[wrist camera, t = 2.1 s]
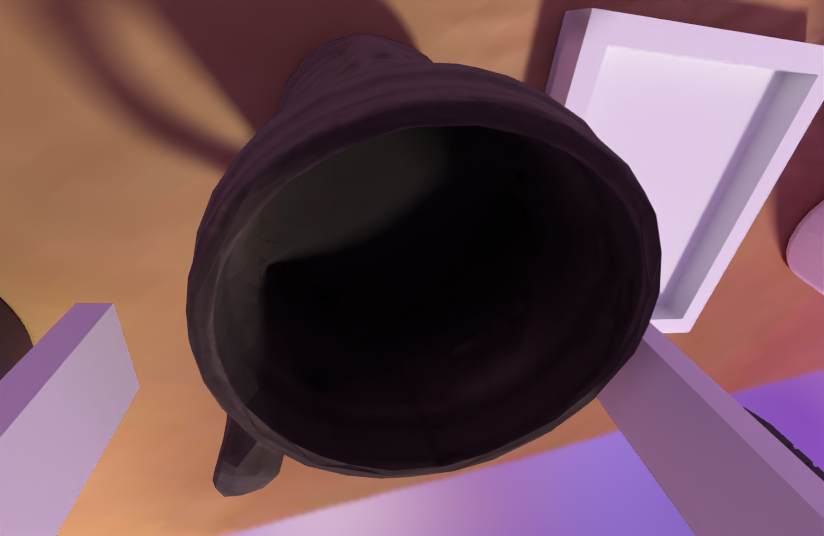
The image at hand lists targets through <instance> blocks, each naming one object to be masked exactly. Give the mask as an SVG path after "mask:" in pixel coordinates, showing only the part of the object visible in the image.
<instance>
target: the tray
mask: <svg viewBox="0 0 824 536" xmlns="http://www.w3.org/2000/svg"><path fill="white" fill-rule="evenodd" d="M545 93H546V94H548V95H549V96H550V97H552V98H553V99H555V100H556V101H557V102H559V103H560V104H562V105H563V106H565V107H566V108H567V109H569V110H570V111H572V112H573V113H575V114H576V115H577V116H579V117H580V118H582V119H583V120H584V121H585V122H586V123H587V124H588V125H589V127H590V128H591V129H592V130H593V132H594V133H595V134H596V136H597V137H598V138H599V139H600V140H601V141H602V142H603V143H604V144H606V145H607V146H608V147H609V148H610V149H611V150H612V151H613V152H615V153H616V154H617V155H618V156H619V157H620V158H621V159H622V160H624V161H625V162H626V163H627V164H628V165H629V167H630V168H631V170H632V172H633V173H634V175H635V176H636V178H637V180H638V181H639V183H640V185H641V186H642V188H643V189H644V191H645V193H646V195H647V197H648V199H649V201H650V203H651V205H652V207H653V209H654V211H655V213H656V216H657V222H658V229H659V236H660V243H661V250H662V258H661V279H660V294H659V296H658V299H657V302H656V305H655V308H654V311H653V314H652V317H651V320H650V323H651V324H653V325H654V326H655V327H656V328H657V329H658V330H659V331H660V332H661V333H682V332H689V331H690V330H691V328H692V326H693V325H694V323H695V321H696V319H697V318H698V316H699V314H700V313H701V311H702V309H703V307H704V306H705V304H706V302H707V300H708V299H709V297H710V295H711V294H712V292H713V290H714V288H715V287H716V285H717V283H718V282H719V280H720V278H721V276H722V275H723V273H724V271H725V269H726V268H727V266H728V264H729V263H730V261H731V259H732V257H733V256H734V254H735V252H736V250H737V249H738V247H739V245H740V244H741V242H742V240H743V238H744V237H745V235H746V233H747V232H748V230H749V228H750V226H751V225H752V223H753V221H754V219H755V218H756V216H757V214H758V213H759V211H760V209H761V207H762V206H763V204H764V202H765V201H766V199H767V197H768V195H769V194H770V192H771V190H772V188H773V187H774V185H775V183H776V182H777V180H778V178H779V176H780V175H781V173H782V171H783V169H784V168H785V166H786V164H787V163H788V161H789V159H790V157H791V156H792V154H793V152H794V151H795V149H796V147H797V145H798V144H799V142H800V140H801V138H802V137H803V135H804V133H805V132H806V130H807V128H808V126H809V125H810V123H811V121H812V119H813V118H814V116H815V114H816V113H817V111H818V109H819V107H820V106H821V104H822V102H823V101H824V46H821V45H815V44H809V43H803V42H797V41H791V40H785V39H779V38H773V37H767V36H760V35H754V34H748V33H742V32H736V31H730V30H724V29H718V28H712V27H706V26H700V25H694V24H687V23H681V22H675V21H669V20H663V19H657V18H651V17H645V16H639V15H633V14H627V13H621V12H614V11H608V10H602V9H596V8H587V9H578V10H568V11H565V15H564V19H563V23H562V27H561V31H560V35H559V39H558V42H557V46H556V50H555V54H554V58H553V62H552V66H551V70H550V74H549V78H548V82H547V86H546V90H545Z"/></svg>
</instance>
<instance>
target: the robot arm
mask: <svg viewBox="0 0 824 536" xmlns="http://www.w3.org/2000/svg"><path fill="white" fill-rule="evenodd" d="M139 388H140V386H139V383H138V380H137V377H136V374H135V370H134V367H133V364H132V361H131V358H130V355H129V351H128V348H127V345H126V342H125V339H124V336H123V332H122V329H121V326H120V323H119V320H118V317H117V314H116V310H115V307H114V304H113V303H76V304H75V305H74V306H73V307H72V308H71V309H70V310H69V311H68V312H67V313H66V314H65V315H64V316H63V317H62V318H61V319H60V320H59V321H58V322H57V323H56V324H55V325H54V326H53V327H52V328H51V329H50V330H49V331H48V332H47V333H46V334H45V335H44V336H43V337H42V339H41V340H40V341H39V342H38V343H37V344H36V345H35V346H34V347H33V345H32V342H31V340H30V337H29V335H28V333H27V331H26V329H25V328H24V326H23V325H22V323H21V322H20V321H19V319H18V318H17V317H16V316H15V314H14V313H13V312H12V311H11V310H10V309H9V308H8V307H7V306H6V305H5V304H4V303H3V302H2V301H1V300H0V536H56V535H57V533H58V531H59V529H60V528H61V526H62V524H63V522H64V521H65V519H66V517H67V515H68V514H69V512H70V510H71V508H72V507H73V505H74V503H75V501H76V499H77V498H78V496H79V494H80V492H81V491H82V489H83V487H84V485H85V484H86V482H87V480H88V478H89V476H90V475H91V473H92V471H93V469H94V468H95V466H96V464H97V462H98V461H99V459H100V457H101V455H102V453H103V452H104V450H105V448H106V446H107V445H108V443H109V441H110V439H111V438H112V436H113V434H114V432H115V431H116V429H117V427H118V425H119V423H120V422H121V420H122V418H123V416H124V415H125V413H126V411H127V409H128V408H129V406H130V404H131V402H132V400H133V399H134V397H135V395H136V393H137V392H138V390H139ZM596 397H597V399H598V400H599V401H600V403H601V404H602V406H603V407H604V408H605V410H606V411H607V412H608V414H609V415H610V417H611V418H612V419H613V421H614V422H615V424H616V425H617V426H618V428H619V429H620V431H621V432H622V433H623V435H624V436H625V438H626V439H627V440H628V442H629V443H630V445H631V446H632V447H633V449H634V450H635V452H636V453H637V454H638V456H639V457H640V459H641V460H642V461H643V463H644V464H645V466H646V467H647V468H648V470H649V471H650V473H651V474H652V475H653V477H654V478H655V479H656V481H657V482H658V484H659V485H660V487H661V488H662V489H663V491H664V492H665V494H666V495H667V496H668V498H669V499H670V500H671V502H672V503H673V505H674V506H675V507H676V509H677V510H678V512H679V513H680V515H681V516H682V517H683V519H684V520H685V521H686V523H687V524H688V526H689V527H690V528H691V530H692V531H693V533H694V534H695V535H696V536H824V472H823V471H822V470H821V469H820V468H819V467H814V466H813V462H812V461H811V460H810V459H809V458H807V457H806V456H805V455H804V454H803V453H802V452H801V451H800V450H799V449H794V447H793V444H792V443H791V442H790V441H789V440H787V439H786V438H785V437H784V436H783V435H782V434H781V433H780V432H778V431H777V430H776V429H775V428H774V427H773V426H772V425H771V424H769V423H768V422H766V421H765V420H763V419H762V418H760V417H759V416H757V415H755V414H754V413H752V412H751V411H749V410H748V409H746V408H745V407H742V406H741V405H740V404H739V403H738V402H737V401H735V400H734V399H733V398H732V397H731V396H730V395H729V394H728V393H727V392H726V391H725V390H723V389H722V388H721V387H720V386H719V385H718V384H717V383H716V382H715V381H714V380H713V379H711V378H710V377H709V376H708V375H707V374H706V373H705V372H704V371H703V370H702V369H701V368H699V367H698V366H697V365H696V364H695V363H694V362H693V361H692V360H691V359H690V358H689V357H687V356H686V355H685V354H684V353H683V352H682V351H681V350H680V349H679V348H678V347H677V346H675V345H674V344H673V343H672V342H671V341H670V340H669V339H668V338H667V337H666V336H665V335H663V334H662V333H661V332H660V331H659V330H658V329H657V328H656V327H655V326H654V325H653V324H651V323H649V326H648V328H647V330H646V332H645V334H644V336H643V338H642V340H641V342H640V344H639V346H638V348H637V350H636V352H635V354H634V355H633V356H632V357H631V358H630V359H629V360H628V361H627V362H626V364H625V365H624V366H623V367H622V368H621V369H620V370H619V371H618V373H617V374H616V375H615V376H614V377H613V378H612V379H611V380H610V382H609V383H608V384H607V385H606V386H605V387H604V388H603V389H602V391H601V392H600V393H599V394H598V395H597V396H596Z"/></svg>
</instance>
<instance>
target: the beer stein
mask: <svg viewBox="0 0 824 536" xmlns="http://www.w3.org/2000/svg"><path fill="white" fill-rule="evenodd" d="M661 258H662V250H661V243H660V236H659V229H658V222H657V216H656V213H655V211H654V209H653V207H652V205H651V203H650V201H649V199H648V197H647V195H646V193H645V191H644V189H643V188H642V186H641V185H640V183H639V181H638V180H637V178H636V176H635V175H634V173H633V172H632V170H631V168H630V167H629V165H628V164H627V163H626V162H625V161H624V160H622V159H621V158H620V157H619V156H618V155H617V154H616V153H615V152H613V151H612V150H611V149H610V148H609V147H608V146H607V145H606V144H604V143H603V142H602V141H601V140H600V139H599V138H598V137H597V136H596V134H595V133H594V132H593V130H592V129H591V128H590V127H589V125H588V124H587V123H586V122H585V121H584V120H583V119H582V118H580V117H579V116H577V115H576V114H575V113H573V112H572V111H570V110H569V109H567V108H566V107H565V106H563V105H562V104H560V103H559V102H557V101H556V100H555V99H553V98H552V97H550V96H549V95H548V94H546V93H544V92H542V91H539V90H537V89H535V88H533V87H531V86H529V85H527V84H525V83H522V82H520V81H518V80H516V79H514V78H512V77H510V76H506V75H503V74H499V73H495V72H492V71H488V70H484V69H480V68H477V67H471V66H466V65H461V64H451V63H433V62H432V61H431V60H430V59H429V58H428V57H427V56H425V55H424V54H422V53H420V52H418V51H416V50H414V49H412V48H410V47H408V46H406V45H403V44H401V43H398V42H395V41H393V40H390V39H388V38H384V37H379V36H374V35H367V34H365V35H354V36H348V37H345V38H341V39H338V40H335V41H331V42H329V43H327V44H325V45H323V46H321V47H320V48H318V49H317V50H315V51H314V52H313V53H311V54H310V55H309V56H307V57H306V58H305V59H303V60H302V62H301V63H300V65H299V66H298V67H297V69H296V70H295V71H294V73H293V74H292V76H291V77H290V78H289V80H288V81H287V84H286V86H285V89H284V91H283V94H282V96H281V99H280V103H279V106H278V108H277V111H276V114H275V117H274V118H272V119H271V120H269V121H268V122H267V123H266V124H265V125H264V126H263V127H262V128H261V129H260V130H259V131H258V132H257V134H256V135H255V136H254V137H253V138H252V139H251V140H250V141H249V142H248V143H247V145H246V146H245V147H244V148H243V149H242V150H241V152H240V153H239V154H238V156H237V157H236V158H235V160H234V161H233V163H232V164H231V166H230V167H229V169H228V170H227V171H226V173H225V174H224V176H223V177H222V179H221V180H220V182H219V183H218V184H217V186H216V187H215V189H214V190H213V192H212V195H211V198H210V200H209V203H208V205H207V208H206V210H205V213H204V216H203V218H202V221H201V223H200V226H199V228H198V231H197V236H196V243H195V250H194V257H193V263H192V266H191V270H190V273H189V276H188V286H187V303H186V316H187V326H188V336H189V342H190V346H191V349H192V352H193V355H194V357H195V360H196V363H197V365H198V368H199V371H200V373H201V376H202V379H203V381H204V383H205V385H206V386H207V387H208V389H209V390H210V392H211V393H212V395H213V396H214V398H215V399H216V400H217V402H218V403H219V405H220V406H221V408H222V409H223V410H224V411H225V412H226V413H227V421H226V426H225V432H224V438H223V442H222V445H221V449H220V453H219V456H218V460H217V464H216V467H215V471H214V476H213V482H214V485H215V488H216V489H217V490H218V491H219V492H220V493H221V494H222V495H223V496H224V497H226V496H239V495H244V494H247V493H250V492H252V491H255V490H258V489H261V488H264V487H265V486H266V485H267V484H268V483H269V482H271V481H272V480H273V479H274V478H275V477H276V476H277V475H278V474H279V472H280V468H281V464H282V461H283V457H284V455H286V456H288V457H290V458H292V459H294V460H296V461H298V462H300V463H302V464H304V465H306V466H309V467H314V468H318V469H322V470H326V471H331V472H335V473H339V474H343V475H348V476H359V477H370V478H400V477H413V476H421V475H428V474H436V473H443V472H451V471H456V470H459V469H463V468H466V467H469V466H473V465H476V464H480V463H483V462H487V461H490V460H493V459H496V458H498V457H500V456H502V455H504V454H506V453H508V452H510V451H512V450H514V449H516V448H518V447H520V446H522V445H525V444H527V443H529V442H531V441H533V440H535V439H537V438H539V437H541V436H543V435H545V434H546V433H548V432H550V431H552V430H553V429H554V428H556V427H557V426H559V425H560V424H561V423H563V422H564V421H565V420H567V419H568V418H570V417H571V416H572V415H574V414H575V413H577V412H578V411H579V410H581V409H582V408H583V407H584V406H586V405H587V404H588V403H590V402H591V401H592V400H593V399H594V398H595V397H596V396H597V395H598V394H599V393H600V392H601V391H602V389H603V388H604V387H605V386H606V385H607V384H608V383H609V382H610V380H611V379H612V378H613V377H614V376H615V375H616V374H617V373H618V371H619V370H620V369H621V368H622V367H623V366H624V365H625V364H626V362H627V361H628V360H629V359H630V358H631V357H632V356H633V355H634V354H635V352H636V350H637V348H638V346H639V344H640V342H641V340H642V338H643V336H644V334H645V332H646V330H647V328H648V326H649V323H650V320H651V317H652V314H653V311H654V308H655V305H656V302H657V299H658V296H659V294H660V279H661Z"/></svg>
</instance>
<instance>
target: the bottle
mask: <svg viewBox="0 0 824 536" xmlns="http://www.w3.org/2000/svg"><path fill="white" fill-rule="evenodd" d="M786 258H787V263H788V266H789V268H790V269H791V270H792V272H793V273H794V274H795V275H796V276H798V277H799V278H800V279H802V280H803V281H805V282H806V283H807V284H809V285H810V286H812V287H813V288H814V289H816V290H817V291H818V292H820V293H821V294H823V295H824V200H823V201H822V202H820V203H819V204H818V205H817V206H816V207H814V208H813V209H812V210H811V211H810V212H808V214H807V215H806V216H805V217H804V218H803V219H802V221H801V222H800V223H799V224H798V225H797V227H796V228H795V230H794V232H793V234H792V235H791V237H790V239H789V242H788V245H787V249H786Z"/></svg>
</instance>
